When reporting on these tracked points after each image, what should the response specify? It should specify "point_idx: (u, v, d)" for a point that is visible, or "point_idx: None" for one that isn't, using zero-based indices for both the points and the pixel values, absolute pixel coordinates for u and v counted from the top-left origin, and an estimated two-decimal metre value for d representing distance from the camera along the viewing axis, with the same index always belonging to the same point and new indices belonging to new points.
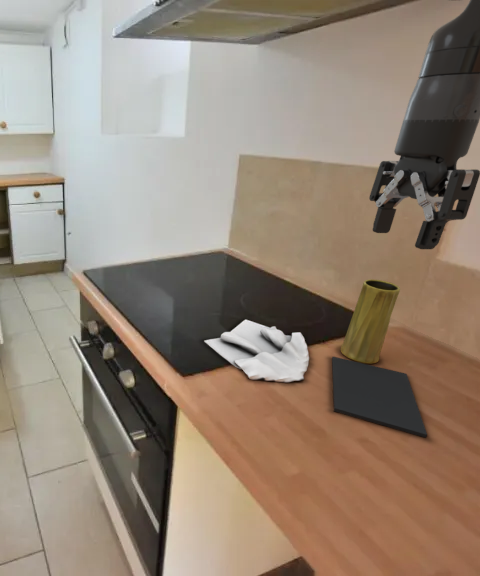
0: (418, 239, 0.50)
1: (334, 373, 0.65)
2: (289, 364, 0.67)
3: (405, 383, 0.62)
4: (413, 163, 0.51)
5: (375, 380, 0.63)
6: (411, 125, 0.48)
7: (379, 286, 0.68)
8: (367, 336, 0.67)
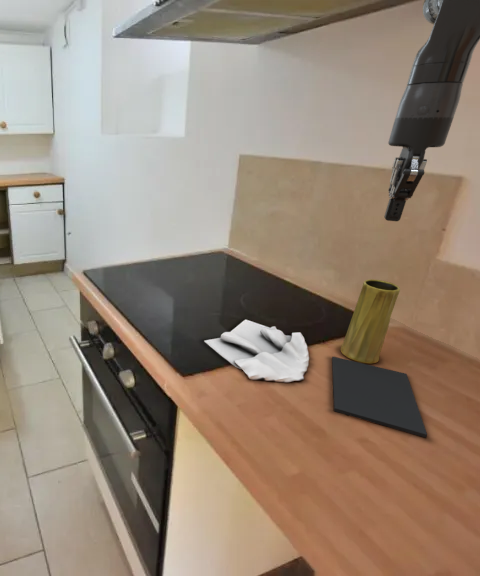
0: (386, 213, 0.69)
1: (334, 373, 0.65)
2: (289, 364, 0.67)
3: (405, 383, 0.62)
4: (403, 152, 0.65)
5: (375, 380, 0.63)
6: (394, 122, 0.64)
7: (379, 286, 0.68)
8: (367, 336, 0.67)
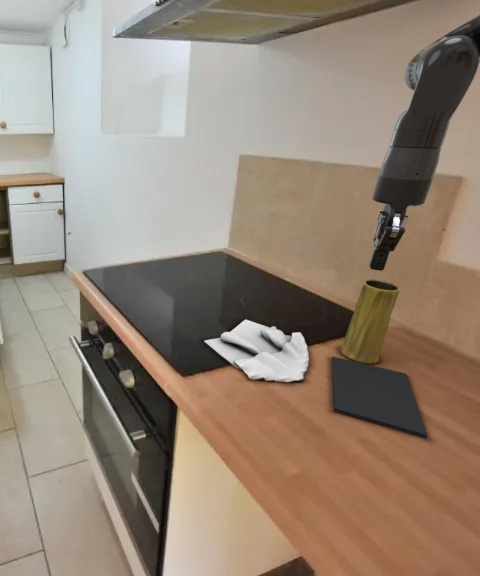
0: (371, 262, 0.72)
1: (334, 373, 0.65)
2: (289, 364, 0.67)
3: (405, 383, 0.62)
4: (387, 206, 0.69)
5: (375, 380, 0.63)
6: (378, 179, 0.67)
7: (379, 286, 0.68)
8: (367, 336, 0.67)
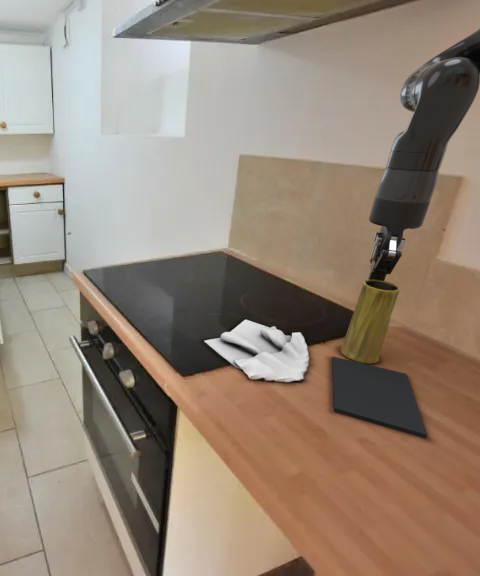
0: None
1: (334, 373, 0.65)
2: (289, 364, 0.67)
3: (405, 383, 0.62)
4: (383, 228, 0.67)
5: (375, 380, 0.63)
6: (374, 200, 0.66)
7: (379, 286, 0.68)
8: (367, 336, 0.67)
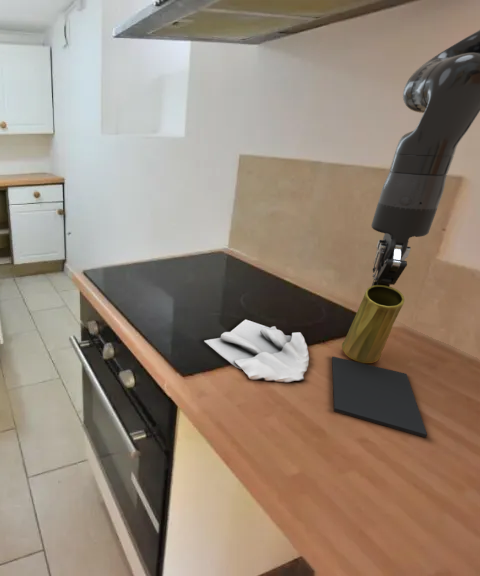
0: None
1: (334, 373, 0.65)
2: (289, 364, 0.67)
3: (405, 383, 0.62)
4: (387, 235, 0.63)
5: (375, 380, 0.63)
6: (377, 206, 0.62)
7: (384, 290, 0.63)
8: (367, 342, 0.65)
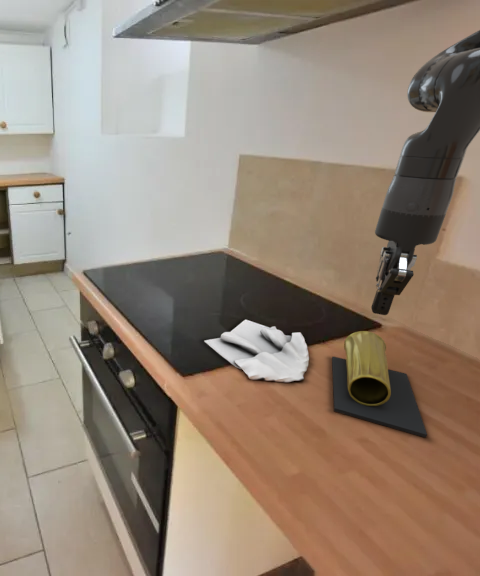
0: (373, 305, 0.63)
1: (334, 373, 0.65)
2: (289, 364, 0.67)
3: (405, 383, 0.62)
4: (392, 242, 0.59)
5: None
6: (381, 212, 0.58)
7: None
8: None
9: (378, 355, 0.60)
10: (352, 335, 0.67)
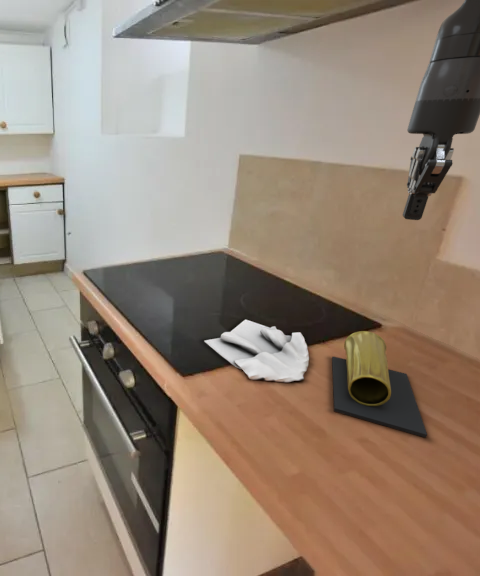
0: (405, 210, 0.60)
1: (334, 373, 0.65)
2: (289, 364, 0.67)
3: (405, 383, 0.62)
4: (425, 140, 0.57)
5: None
6: (415, 105, 0.55)
7: None
8: None
9: (378, 355, 0.60)
10: (352, 335, 0.67)
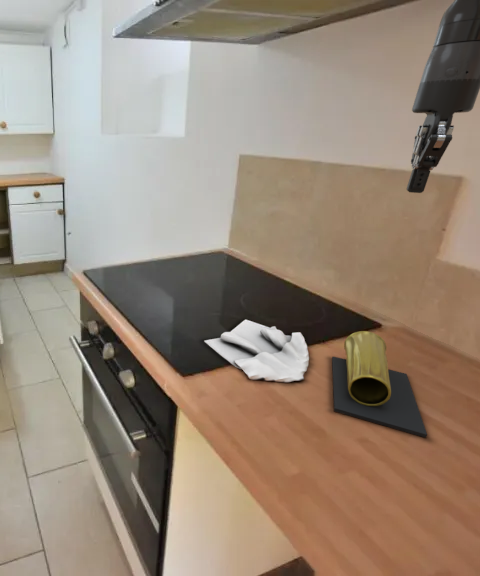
0: (409, 184, 0.66)
1: (334, 373, 0.65)
2: (289, 364, 0.67)
3: (405, 383, 0.62)
4: (428, 119, 0.63)
5: None
6: (419, 87, 0.61)
7: None
8: None
9: (378, 355, 0.60)
10: (352, 335, 0.67)
